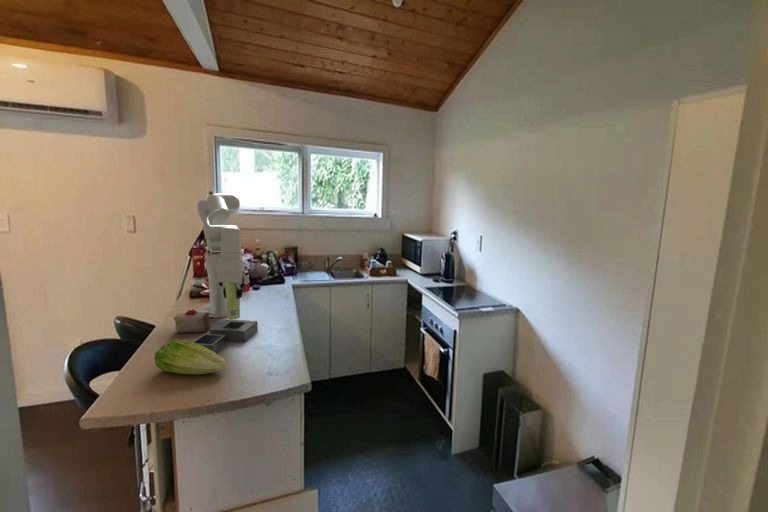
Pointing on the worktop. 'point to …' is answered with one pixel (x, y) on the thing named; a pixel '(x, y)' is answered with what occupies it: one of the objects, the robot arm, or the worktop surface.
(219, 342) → the gray square frame
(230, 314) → the tube
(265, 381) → the worktop surface
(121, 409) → the worktop surface
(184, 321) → the food item
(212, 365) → the lettuce
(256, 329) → the port block
